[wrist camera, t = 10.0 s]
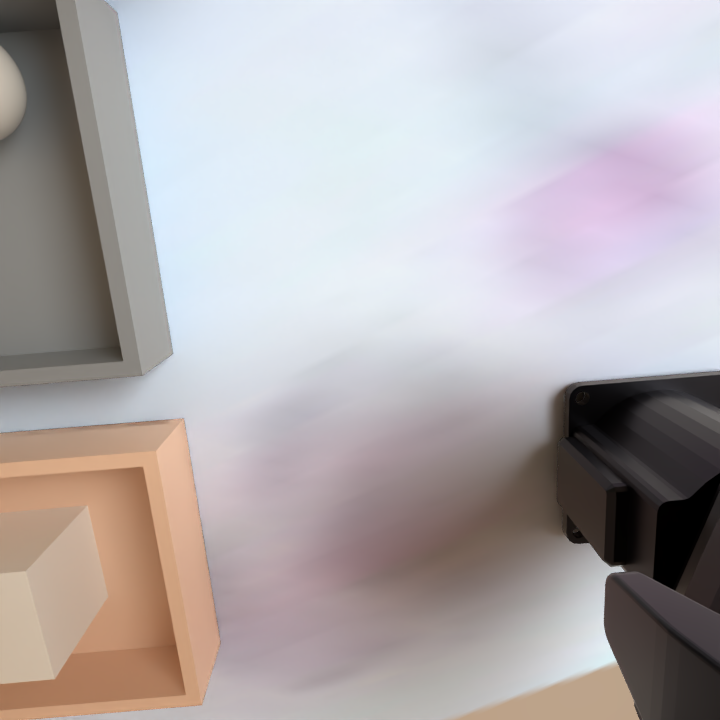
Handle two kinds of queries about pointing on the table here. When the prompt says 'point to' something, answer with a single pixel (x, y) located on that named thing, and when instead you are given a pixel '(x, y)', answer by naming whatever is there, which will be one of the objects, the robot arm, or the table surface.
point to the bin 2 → (122, 566)
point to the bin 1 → (75, 206)
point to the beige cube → (46, 589)
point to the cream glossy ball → (11, 95)
